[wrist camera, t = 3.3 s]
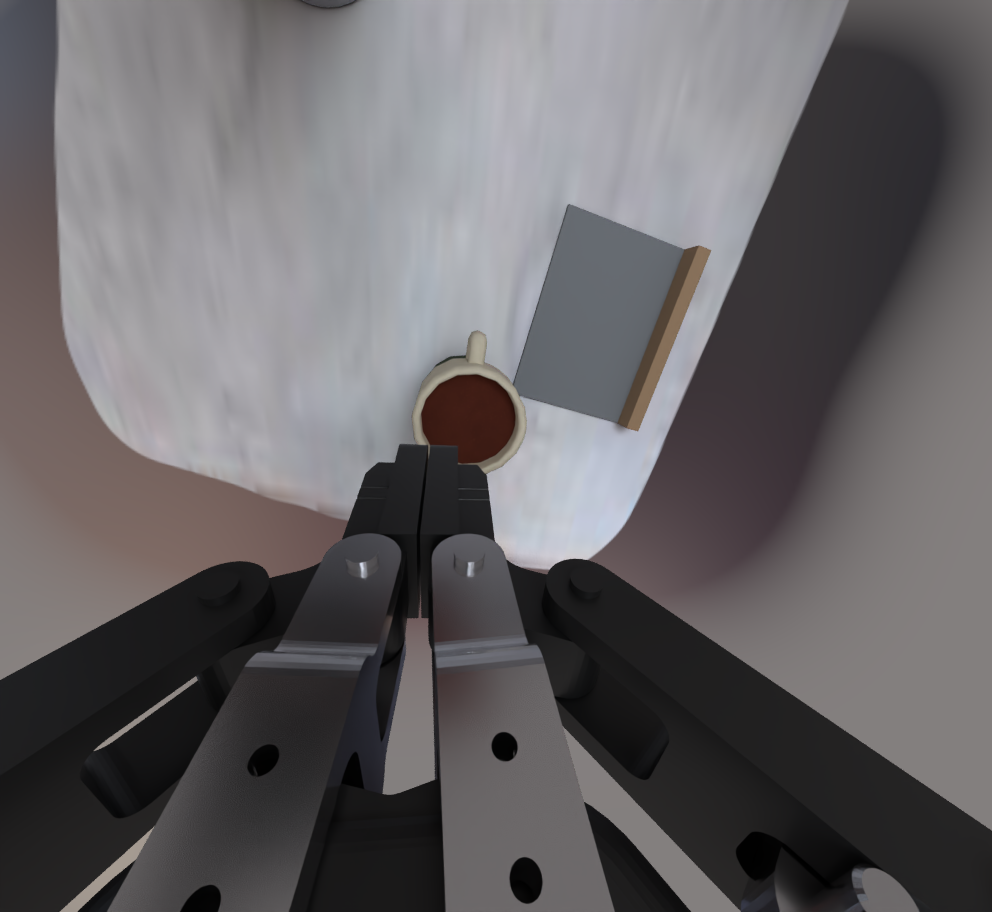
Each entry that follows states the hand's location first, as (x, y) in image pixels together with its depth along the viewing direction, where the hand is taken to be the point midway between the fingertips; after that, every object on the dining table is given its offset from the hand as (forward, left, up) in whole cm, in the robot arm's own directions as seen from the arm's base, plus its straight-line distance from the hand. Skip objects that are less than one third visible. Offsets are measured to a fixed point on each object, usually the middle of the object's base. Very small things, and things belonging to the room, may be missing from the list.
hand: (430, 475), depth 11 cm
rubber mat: (+12, +8, -27) cm, 31 cm away
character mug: (+2, -1, -27) cm, 27 cm away
